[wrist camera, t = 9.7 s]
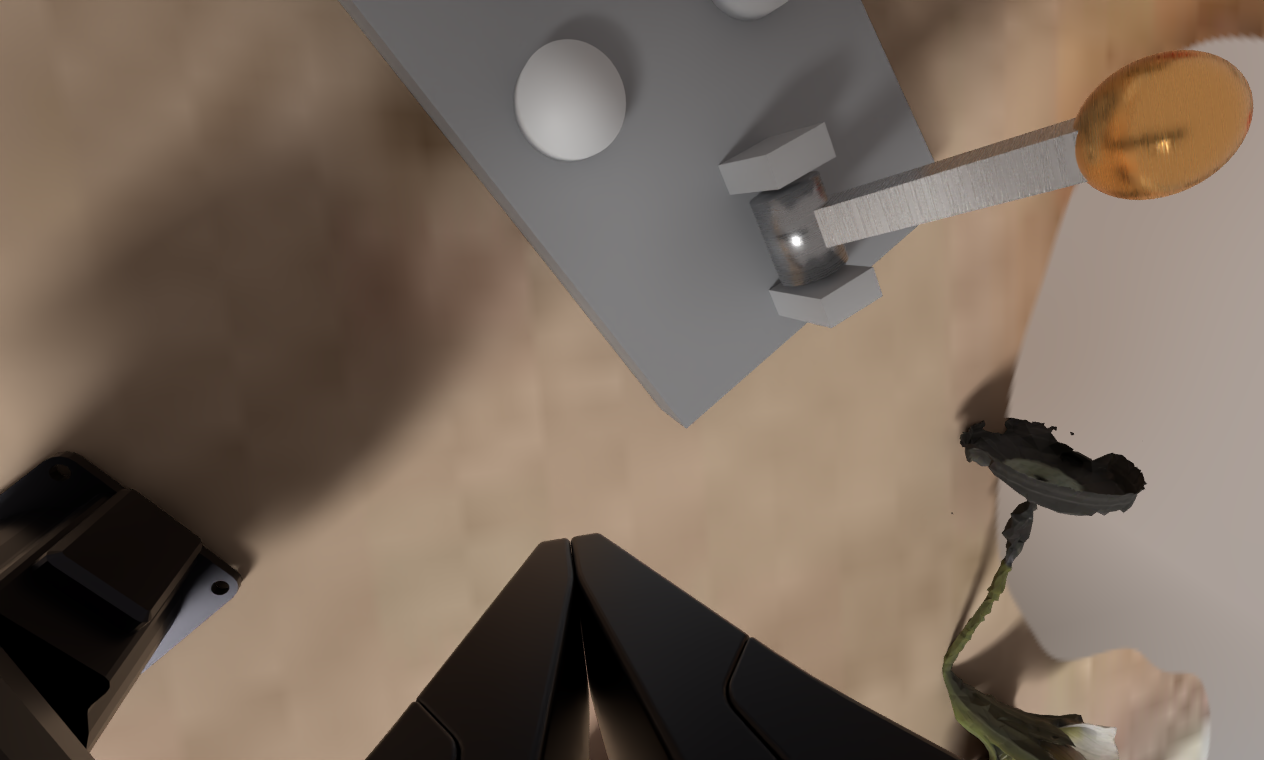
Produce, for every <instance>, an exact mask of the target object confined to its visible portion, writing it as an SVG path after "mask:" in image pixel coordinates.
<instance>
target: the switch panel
mask: <svg viewBox="0 0 1264 760" xmlns="http://www.w3.org/2000/svg"><path fill="white" fill-rule="evenodd" d="M338 1H339V2H340V3H341V5H342V6H343V7H344V9H345V10H346V11H347V12H348V14H349V15H350V16H351V17H352V19H353V20H354V21H355V22H356V24H357V25H358V26H359V27H360V29H361V30H362V31H363V33H364V34H365V35H366V36H367V38H368V39H369V40H370V41H371V43H372V44H373V45H374V46H375V48H376V49H377V50H378V52H379V53H380V54H381V55H382V57H383V58H384V59H385V60H386V62H387V63H388V64H389V65H390V67H391V68H392V69H393V71H394V72H395V73H396V74H397V76H398V77H399V78H400V79H401V81H402V82H403V83H404V84H405V86H406V87H407V88H408V89H409V91H410V92H411V93H412V95H413V96H414V97H415V98H416V100H417V101H418V102H419V103H420V105H421V106H422V107H423V108H424V110H425V111H426V112H427V114H428V115H429V116H430V117H431V119H432V120H433V121H434V122H435V124H436V125H437V126H438V127H439V129H440V130H441V131H442V133H443V134H444V135H445V136H446V138H447V139H448V140H449V141H450V143H451V144H452V145H453V146H454V148H455V149H456V150H457V152H458V153H459V154H460V155H461V157H462V158H463V159H464V160H465V162H466V163H467V164H468V165H469V167H470V168H471V169H472V170H473V172H474V173H475V174H476V176H477V177H478V178H479V179H480V181H481V182H482V183H483V184H484V186H485V187H486V188H487V189H488V191H489V192H490V193H491V195H492V196H493V197H494V198H495V200H496V201H497V202H498V203H499V205H500V206H501V207H502V208H503V210H504V211H505V212H506V214H507V215H508V216H509V217H510V219H511V220H512V221H513V222H514V224H515V225H516V226H517V227H518V229H519V230H520V231H521V233H522V234H523V235H524V236H525V238H526V239H527V240H528V241H529V243H530V244H531V245H532V246H533V248H534V249H535V250H536V251H537V253H538V254H539V255H540V257H541V258H542V259H543V260H544V262H545V263H546V264H547V265H548V267H549V268H550V269H551V270H552V272H553V273H554V274H555V276H556V277H557V278H558V279H559V281H560V282H561V283H562V284H563V286H564V287H565V288H566V289H567V291H568V292H569V293H570V295H571V296H572V297H573V298H574V300H575V301H576V302H577V303H578V305H579V306H580V307H581V308H582V310H583V311H584V312H585V313H586V315H587V316H588V317H589V319H590V320H591V321H592V322H593V324H594V325H595V326H596V327H597V329H598V330H599V331H600V332H601V334H602V335H603V336H604V338H605V339H606V340H607V341H608V343H609V344H610V345H611V346H612V348H613V349H614V350H615V351H616V353H617V354H618V355H619V357H620V358H621V359H622V360H623V362H624V363H625V364H626V365H627V367H628V368H629V369H630V370H631V372H632V373H633V374H634V376H635V377H636V378H637V379H638V381H639V382H640V383H641V384H642V386H643V387H644V388H645V389H646V391H647V392H648V393H649V394H650V396H651V397H652V398H653V400H654V401H655V402H656V403H657V405H658V406H659V407H660V408H661V409H662V410H663V411H664V412H665V413H667V414H668V415H669V416H671V417H672V418H673V419H674V420H676V421H677V422H678V423H680V424H681V425H682V426H684V427H685V428H688V427H689V426H690V425H691V424H692V423H693V422H694V421H696V420H697V419H698V418H699V417H700V416H701V415H702V414H704V413H705V412H706V411H707V410H708V409H709V408H710V407H712V406H713V405H714V404H715V403H716V402H717V401H718V400H720V399H721V398H722V397H723V396H724V395H725V394H726V393H728V392H729V391H730V390H731V389H732V388H733V387H734V386H735V385H737V384H738V383H739V382H740V381H741V380H742V379H743V378H745V377H746V376H747V375H748V374H749V373H750V372H751V371H753V370H754V369H755V368H756V367H757V366H758V365H759V364H761V363H762V362H763V361H764V360H765V359H766V358H767V357H769V356H770V355H771V354H772V353H773V352H774V351H775V350H777V349H778V348H779V347H780V346H781V345H782V344H783V343H785V342H786V341H787V340H788V339H789V338H790V337H791V336H793V335H794V334H795V333H796V332H797V331H798V330H799V329H800V328H802V327H803V326H804V325H805V324H806V323H807V322H809V323H813V324H817V325H821V326H825V327H829V328H832V327H834V326H836V325H837V324H839V323H840V322H842V321H844V320H845V319H847V318H848V317H850V316H851V315H853V314H855V313H856V312H858V311H859V310H861V309H863V308H864V307H866V306H867V305H869V304H871V303H872V302H874V301H875V300H877V299H878V298H880V297H882V296H883V295H882V292H881V289H880V286H879V283H878V280H877V277H876V274H875V271H874V268H873V267H871V266H872V265H873V264H875V263H876V262H877V261H878V260H879V259H880V258H881V257H883V256H884V255H885V254H886V253H887V252H888V251H889V250H891V249H892V248H893V247H894V246H895V245H896V244H897V243H899V242H900V241H901V240H902V239H903V238H904V237H905V236H907V235H908V234H909V233H910V232H911V231H912V230H913V229H915V228H916V227H917V226H918V225H915V226H911V227H907V228H903V229H899V230H895V231H891V232H887V233H884V234H880V235H876V236H872V237H868V238H864V239H860V240H856V241H852V242H848V243H844V245H845V248H846V251H847V254H848V257H849V259H848V261H847V262H846V264H845V265H844V266H843V267H841V268H840V269H839V270H837V271H835V272H834V273H832V274H830V275H828V276H826V277H824V278H822V279H820V280H817V281H814V282H811V283H808V284H804V285H800V286H784V285H782V284H781V282H780V279H779V276H778V274H777V271H776V269H775V266H774V264H773V261H772V259H771V256H770V254H769V251H768V249H767V246H766V244H765V241H764V239H763V236H762V234H761V231H760V229H759V226H758V224H757V221H756V219H755V216H754V213H753V211H752V208H751V206H750V201H751V200H752V199H753V198H754V197H755V196H757V195H758V194H759V193H761V192H763V191H768V190H777V189H781V188H782V187H784V186H786V185H788V184H789V183H791V182H793V181H794V180H796V179H798V178H800V177H801V176H803V175H805V174H807V173H808V172H812V171H818V172H819V173H820V176H821V179H822V182H823V184H824V187H825V190H826V193H827V196H829V195H833V194H836V193H839V192H842V191H845V190H848V189H852V188H855V187H858V186H861V185H864V184H867V183H870V182H874V181H877V180H880V179H883V178H886V177H889V176H893V175H896V174H899V173H902V172H905V171H908V170H912V169H915V168H918V167H921V166H924V165H927V164H931V163H934V160H933V158H932V155H931V153H930V151H929V149H928V147H927V144H926V142H925V140H924V138H923V136H922V133H921V131H920V129H919V127H918V125H917V122H916V120H915V118H914V116H913V114H912V111H911V109H910V107H909V105H908V103H907V100H906V98H905V96H904V94H903V92H902V89H901V87H900V85H899V83H898V81H897V78H896V76H895V74H894V72H893V70H892V67H891V65H890V63H889V61H888V59H887V56H886V54H885V52H884V50H883V48H882V45H881V43H880V41H879V39H878V37H877V34H876V32H875V30H874V28H873V26H872V23H871V21H870V19H869V17H868V15H867V12H866V10H865V8H864V6H863V4H862V1H861V0H338Z"/></svg>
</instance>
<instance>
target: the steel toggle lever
mask: <svg viewBox="0 0 1264 760" xmlns="http://www.w3.org/2000/svg"><path fill="white" fill-rule="evenodd" d="M1252 113H1253V99H1252V92H1251V90H1250V87H1249V84H1248V82H1247V80H1246V79H1245V77H1244V76H1243V74H1242V73H1241V72H1240V71H1239V70H1238V69H1237V68H1236V67H1235V66H1234V65H1232V64H1231V63H1230V62H1228V61H1227V60H1225V59H1223V58H1221V57H1219V56H1216V55H1213V54H1210V53H1206V52H1201V51H1194V50H1177V51H1167V52H1162V53H1157V54H1154V55H1150V56H1147V57H1144V58H1142V59H1139V60H1137V61H1134V62H1132V63H1130V64H1128V65H1126V66H1124V67H1123V68H1121V69H1119V70H1118V71H1116V72H1115V73H1113V74H1112V75H1110V76H1109V77H1108V78H1107V79H1105V80H1104V81H1103V82H1102V83H1101V84H1100V85H1099V86H1098V87H1097V88H1095V89H1094V90H1093V92H1092V93H1091V94H1090V95H1089V96H1088V98H1087V99H1086V100H1085V102H1084V103H1083V105H1082V106H1081V108H1080V110H1079V112H1078V114H1077V116H1076V118H1073V119H1070V120H1067V121H1063V122H1060V123H1057V124H1054V125H1051V126H1048V127H1044V128H1041V129H1038V130H1035V131H1032V132H1029V133H1025V134H1022V135H1019V136H1016V137H1013V138H1010V139H1007V140H1003V141H1000V142H997V143H994V144H991V145H988V146H984V147H981V148H978V149H975V150H972V151H969V152H965V153H962V154H959V155H956V156H953V157H950V158H946V159H943V160H940V161H937V162H934V163H931V164H927V165H924V166H921V167H918V168H915V169H912V170H908V171H905V172H902V173H899V174H896V175H893V176H889V177H886V178H883V179H880V180H877V181H874V182H870V183H867V184H864V185H861V186H858V187H855V188H852V189H848V190H845V191H842V192H839V193H836V194H833V195H829V196H827V193H826V190H825V187H824V184H823V182H822V179H821V176H820V173H819V172H818V171H812V172H808V173H807V174H805V175H803V176H801V177H800V178H798V179H796V180H794V181H793V182H791V183H789V184H788V185H786V186H784V187H782V188H781V189H777V190H768V191H763V192H761V193H759V194H758V195H757V196H755V197H754V198H753V199H752V200H751V201H750V206H751V208H752V211H753V213H754V216H755V219H756V221H757V224H758V226H759V229H760V231H761V234H762V236H763V239H764V241H765V244H766V246H767V249H768V251H769V254H770V256H771V259H772V261H773V264H774V266H775V269H776V271H777V274H778V276H779V279H780V282H781V284H782V285H784V286H800V285H804V284H808V283H811V282H814V281H817V280H820V279H822V278H824V277H826V276H828V275H830V274H832V273H834V272H835V271H837V270H839V269H840V268H841V267H843V266H844V265H845V264H846V262H847V261H848V259H849V257H848V254H847V251H846V248H845V245H844V243H848V242H852V241H856V240H860V239H864V238H868V237H872V236H876V235H880V234H884V233H887V232H891V231H895V230H899V229H903V228H907V227H911V226H915V225H919V224H923V223H927V222H931V221H935V220H939V219H943V218H946V217H950V216H954V215H958V214H962V213H966V212H970V211H974V210H978V209H982V208H986V207H990V206H994V205H998V204H1001V203H1005V202H1009V201H1013V200H1017V199H1021V198H1025V197H1029V196H1033V195H1037V194H1041V193H1045V192H1049V191H1053V190H1056V189H1060V188H1064V187H1068V186H1072V185H1076V184H1080V183H1084V182H1087V183H1088V184H1090V185H1091V186H1092V187H1094V188H1095V189H1097V190H1099V191H1100V192H1103V193H1105V194H1107V195H1110V196H1113V197H1117V198H1123V199H1129V200H1146V199H1155V198H1161V197H1166V196H1169V195H1173V194H1176V193H1179V192H1181V191H1184V190H1187V189H1189V188H1191V187H1193V186H1195V185H1197V184H1199V183H1200V182H1202V181H1204V180H1205V179H1207V178H1208V177H1210V176H1211V175H1213V174H1214V173H1215V172H1217V171H1218V170H1219V169H1220V168H1221V167H1222V166H1223V165H1224V164H1226V163H1227V162H1228V161H1229V160H1230V158H1231V157H1232V156H1233V155H1234V154H1235V152H1236V151H1237V150H1238V148H1239V147H1240V145H1241V144H1242V142H1243V140H1244V138H1245V136H1246V134H1247V132H1248V130H1249V127H1250V123H1251V120H1252Z"/></svg>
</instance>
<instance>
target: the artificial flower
mask: <svg viewBox="0 0 1264 760" xmlns="http://www.w3.org/2000/svg"><path fill="white" fill-rule="evenodd" d="M984 426H985V422H984V421H983V422H982V423H978V424H975V425H973V426H971V429H970V428H969V431H968V432H963V433H964V434H961V436H960V439H961V441H960V444H961V445H962V447H965V454H966V458H967V461H968V462H971V461H975V462H976V463H978V464H979V465H980V466H988V467H989V469H990V470H991V471H992V473H993V474H994V475H995V476H996V477H998V478H1000V479H1001V480H1002V481H1004V482H1005V483H1006V484H1008V485H1009V486H1010V487H1011V488H1013V489H1014V490H1015V491H1016V492H1018V493H1019V494H1021V495H1022V496H1024V497H1025V498H1026V499H1027V501H1026V502H1024V503H1021V504H1019V505H1018V506H1017V507H1016V509H1015V510H1014V511H1013V512H1012V513H1011V518H1010V519H1009V520H1008V522H1007V524H1006V526H1005V530H1004V531H1003V532H1002V534H1003V535H1004V537H1005V538H1006V539H1007V544H1006V548H1007V551H1006V556H1005V558H1004V559H1003V560H1002V561H1001V566H1000V567H999V569H998V571H997V573H996V574H995V576H994V579H993V581H992V584H991V586H990V587H989V588H988V589H987V590H988V591H989V593H988V595H987V597H986V599H985V600H984V602H983V603H982V604H981V606H980V607H979V609H978V610H977V611H976V613H975V614H974V616H973V617H972V618H970V619H969V621H968V623H967V624H966V626H965V627H964V629H963V630H962V631H961V632H960V633H959V635H958V636H957V638H956V639H955V641H954V642H953V644H952V645H951V646H950V647H949V649H948V652H947V654H946V655H945V657H944V664H943V668H942V670H943V671H942V672H943V677H944V681H945V684H946V687H947V689H948V693H949V697H950V700H951V703H952V707H953V711H954V714H955V718H956V720H957V721H958V722H959V723H960V724H961V725H962V726H963V727H964V728H965V729H966V730H967V731H969V732H970V733H972V734H973V735H975V736H976V737H977V738H979V739H980V740H981V741H982V742H983V743H984V745H985V746H986V748H987V750H988V751H989V757H990V760H1119V753H1118V749H1117V746H1116V744H1115V740H1114V737H1115V734H1116V730H1117V729H1116V727H1105V726H1099V725H1093V724H1089V723H1084V722H1083V720H1082V717H1081V715H1077V714H1069V715H1062V716H1054V715H1038V714H1032V713H1027V712H1024V711H1022V710H1021V709H1018V708H1013V707H1011V706H1008V705H1006V704H1004V703H1001V702H997V701H996V700H995V698H994V697H993V696H992V695H984V694H983V693H981V692H979V691H978V690H976V689H975V688H974V687H972V686H970V685H968V684H965V683H963V681H962V679H960V678H958V677H957V676H955V674H954V673H953V672H952V671H951V668H952V665H953V663H954V661H955V660H956V658H957V657H958V654H959V652H961V651H962V650H963V648H964V646H965V644H966V643H967V641H969V640H971V636H972V634H973V633H974V631H975V629H976V628H977V626H978V625H979V624H980V622H982V621H984V620H985V619H984V616H985V615H987V614H989V613H991V608H992V604H993V602H994V601H998V600H999V596H1000V594H1001V593H1003V591H1004V589H1005V583H1006V578H1007V575H1008V572H1009V571H1011V568H1012V563H1013V561H1014V559H1015V558H1016V557H1017V556H1018V555H1019V554H1020V552H1021V551H1022V548H1023V545H1024V542H1025V541H1026V540H1027V539H1028V538H1029V535H1030V532H1031V527H1032V522H1033V511H1035V510H1036V509H1037V504H1038V505H1040V506H1043V507H1045V508H1048V509H1051V510H1053V511H1056V512H1058V513H1063V514H1069V515H1078V516H1083V515H1089V516H1092V515H1093V514H1095V513H1096V512H1098V513H1100V514H1102V515H1106V514H1107V513H1109V512H1112V511H1117V510H1121V511H1122V512H1125V511H1126V510H1127V509H1129V508H1130V507H1131V506H1132V504H1133V502H1134V501H1135V499H1136V496H1137V494H1138V493H1139V492H1140V491H1142V490H1144V489H1145V488H1144V485H1145V484H1146V482H1145V481H1144V477H1143V474H1142V473H1140V472H1141V470H1139V469H1138V468H1137V467H1134V464H1133V463H1132V462H1130V461H1129V460H1127V459H1126V458H1125V457H1124V456H1123V455H1118V454H1113V453H1110V454H1107V455H1104V456H1102V457H1100V458H1097V459H1095V460H1093V461H1092V459H1090V458H1088V457H1086V456H1085V455H1083V454H1081V453H1079V452H1075V451H1073V449H1072V448H1071V447H1069V446H1067V445H1066V444H1063V443H1059V442H1057V440H1056V439H1055V438H1054V436H1053V435H1052V434H1051V432H1052V430H1053V429H1054V430H1057V427H1054V426H1051V427H1050V428H1046V427H1045V426H1044V423H1039V422H1032V423H1030V422H1028V421H1027V420H1019V419H1015V418H1008V419H1007V421H1006V422H1005V426H1006V432H1005V433H1003V434H999V433H992V432H987V431H985V430H983V427H984ZM1070 433H1071V435H1074V433H1072V432H1070ZM951 514H953V513H951Z"/></svg>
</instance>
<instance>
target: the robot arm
mask: <svg viewBox="0 0 1264 760" xmlns="http://www.w3.org/2000/svg"><path fill="white" fill-rule="evenodd" d="M57 465H65V466H67V467H68V468H69V469H70V470H71V476H65V475H62V474H60V473H59V472H58V470H57ZM571 550H572V552H571ZM217 581H224V582H227V583H228V585H229V587H228V588H220V587H217V585H216V584H215V582H217ZM241 582H242V579H241V576H240V574H239V573H238V572H237V571H236V570H235V569H233V568H232V567H231V566H229V565H228V564H227V563H225V562H224V561H223V560H221V559H220V558H219V557H217V556H216V555H214V554H213V553H212V552H210V551H209V550H208V549H206V548H205V547H204V546H202V544H201V539H200V538H199V537H197V536H196V535H195V534H193V533H192V532H191V531H189V530H188V529H187V528H185V527H184V526H183V525H181V524H180V523H179V522H177V521H176V520H174V519H173V518H172V517H170V516H169V515H168V514H166V513H165V512H164V511H162V510H161V509H160V508H158V507H157V506H156V505H154V504H153V503H152V502H150V501H149V500H148V499H146V498H145V497H144V496H142V495H141V494H140V493H138V492H137V491H135V490H129V489H125V488H124V487H123V486H121V485H120V484H119V483H117V482H116V481H115V480H113V479H112V478H111V477H109V476H108V475H106V474H105V473H104V472H102V471H101V470H100V469H98V468H97V467H96V466H94V465H93V464H92V463H90V462H89V461H88V460H86V459H85V458H84V457H82V456H80V455H78V454H76V453H72V452H60V453H57V454H55V455H53V456H51V457H50V458H48V459H46V460H45V461H43V462H42V463H41V464H39V465H38V466H37V467H36V468H34V469H33V470H32V471H30V472H29V473H28V474H27V475H25V476H24V477H23V478H21V479H20V480H19V481H18V482H16V483H15V484H14V485H13V486H11V487H10V488H9V489H7V490H6V491H5V492H4V493H2V494H1V495H0V760H95V759H94V758H93V757H92V756H91V754H90V751H91V750H92V748H93V746H94V745H95V743H96V742H97V740H98V739H99V737H100V736H101V734H102V733H103V731H104V729H105V728H106V726H107V725H108V723H109V722H110V720H111V719H112V717H113V716H114V714H115V712H116V711H117V709H118V708H119V706H120V705H121V703H122V702H123V700H124V699H125V697H126V695H127V694H128V692H129V691H130V689H131V688H132V686H133V685H134V683H135V682H136V680H137V679H138V677H139V675H140V674H142V673H143V672H144V671H145V670H146V669H148V668H149V667H150V666H151V665H152V664H154V663H155V662H156V661H157V660H158V659H160V658H161V657H162V656H163V655H164V654H166V653H167V652H168V651H169V650H170V649H172V648H173V647H174V646H175V645H176V644H178V643H179V642H180V641H181V640H182V639H184V638H185V637H186V636H187V635H188V634H190V633H191V632H192V631H193V630H194V629H196V628H197V627H198V626H199V625H200V624H202V623H203V622H204V621H205V620H206V619H208V618H209V617H210V616H211V615H212V614H214V613H215V612H216V611H217V610H218V609H220V608H221V607H222V606H223V605H224V604H226V603H227V602H228V601H229V600H230V599H232V598H233V597H234V595H235V594H236V593H237V591H238V589H239V588H240V586H241ZM582 636H583V637H582ZM583 644H584V645H583ZM584 651H585V654H584ZM585 659H586V662H585ZM586 666H587V670H586ZM587 674H588V679H587ZM588 681H589V687H590V693H591V697H592V701H593V705H594V710H595V713H596V717H597V720H598V724H599V728H600V731H601V735H602V738H603V742H604V746H605V749H606V753H607V756H608V760H964V759H962V758H960V757H959V756H957V755H955V754H953V753H951V752H949V751H948V750H946V749H944V748H942V747H940V746H938V745H936V744H935V743H933V742H931V741H929V740H927V739H925V738H923V737H922V736H920V735H918V734H916V733H914V732H912V731H911V730H909V729H907V728H905V727H903V726H901V725H899V724H898V723H896V722H894V721H892V720H890V719H888V718H887V717H885V716H883V715H881V714H879V713H877V712H875V711H874V710H872V709H870V708H868V707H866V706H864V705H862V704H861V703H859V702H857V701H855V700H854V699H852V698H850V697H848V696H847V695H845V694H843V693H841V692H840V691H838V690H836V689H834V688H833V687H831V686H829V685H827V684H826V683H824V682H822V681H820V680H819V679H817V678H815V677H813V676H812V675H810V674H809V673H807V672H806V671H804V670H802V669H801V668H799V667H798V666H796V665H795V664H793V663H792V662H790V661H788V660H787V659H785V658H784V657H782V656H781V655H779V654H777V653H776V652H774V651H773V650H771V649H770V648H769V647H767V646H766V645H764V644H763V643H761V642H760V641H758V640H757V639H755V638H753V637H751V638H749V636H748V635H747V634H746V633H745V632H743V631H742V630H740V629H739V628H737V627H736V626H734V625H733V624H731V623H730V622H729V621H727V620H726V619H724V618H723V617H721V616H720V615H718V614H717V613H715V612H714V611H712V610H711V609H710V608H708V607H707V606H705V605H704V604H702V603H701V602H699V601H698V600H696V599H695V598H693V597H692V596H691V595H689V594H688V593H686V592H685V591H683V590H682V589H680V588H679V587H677V586H676V585H674V584H673V583H672V582H670V581H669V580H667V579H666V578H664V577H663V576H661V575H660V574H658V573H657V572H655V571H654V570H653V569H651V568H650V567H648V566H647V565H645V564H644V563H642V562H641V561H639V560H638V559H636V558H635V557H634V556H632V555H631V554H629V553H628V552H626V551H625V550H623V549H622V548H620V547H619V546H617V545H616V544H615V543H613V542H612V541H610V540H609V539H607V538H606V537H604V536H603V535H601V534H599V533H594V534H587V535H581V536H576V537H573V538H572V540H571V545H570V541H569V540H568V539H566V538H563V539H556V540H550V541H543V542H541V543H540V544H538V546H537V547H536V548H535V549H534V551H533V552H532V553H531V555H530V556H529V557H528V558H527V560H526V561H525V562H524V563H523V565H522V566H521V567H520V568H519V570H518V571H517V572H516V573H515V575H514V576H513V577H512V579H511V580H510V581H509V582H508V584H507V585H506V586H505V587H504V589H503V590H502V591H501V592H500V594H499V595H498V596H497V597H496V599H495V600H494V601H493V603H492V604H491V605H490V606H489V608H488V609H487V610H486V611H485V613H484V614H483V615H482V616H481V618H480V619H479V620H478V621H477V623H476V624H475V625H474V627H473V628H472V629H471V630H470V632H469V633H468V634H467V635H466V637H465V638H464V639H463V640H462V642H461V643H460V644H459V645H458V647H457V648H456V649H455V650H454V652H453V653H452V654H451V656H450V657H449V658H448V659H447V661H446V662H445V663H444V664H443V666H442V667H441V668H440V669H439V671H438V672H437V673H436V674H435V676H434V677H433V678H432V680H431V681H430V682H429V683H428V685H427V686H426V687H425V688H424V690H423V691H422V692H421V693H420V695H419V696H418V697H417V700H416V702H412V703H411V704H410V706H409V707H408V708H407V709H406V711H405V712H404V713H403V714H402V716H401V717H400V718H399V719H398V721H397V722H396V723H395V724H394V726H393V727H392V728H391V729H390V730H389V732H388V733H387V734H386V735H385V736H384V738H383V739H382V740H381V741H380V742H379V744H378V745H377V746H376V747H375V748H374V750H373V751H372V752H371V753H370V754H369V756H368V757H367V758H366V759H365V760H589V689H588Z"/></svg>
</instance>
